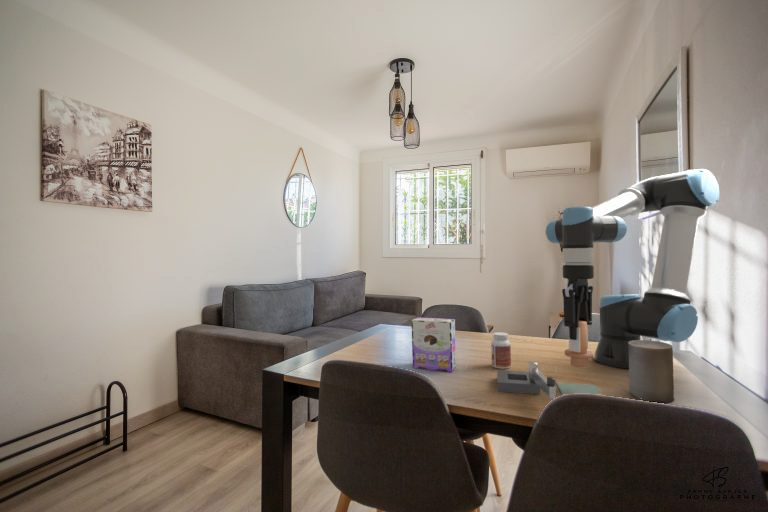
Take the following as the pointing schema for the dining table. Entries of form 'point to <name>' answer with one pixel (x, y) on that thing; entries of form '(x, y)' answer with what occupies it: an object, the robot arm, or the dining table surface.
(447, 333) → the candy box
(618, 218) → the robot arm
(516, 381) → the socket
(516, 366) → the dining table surface
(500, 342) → the pill bottle
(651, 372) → the pillar candle
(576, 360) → the plug
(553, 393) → the clip
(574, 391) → the mat
